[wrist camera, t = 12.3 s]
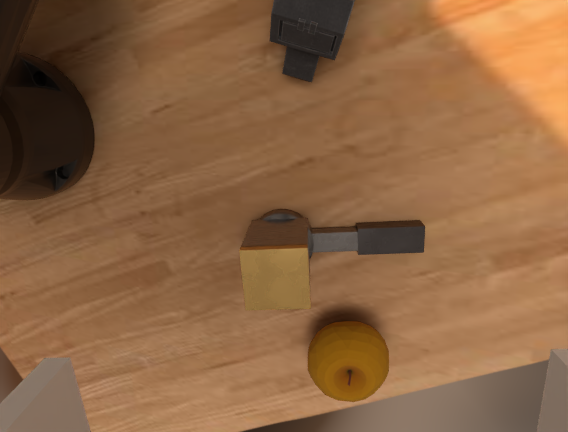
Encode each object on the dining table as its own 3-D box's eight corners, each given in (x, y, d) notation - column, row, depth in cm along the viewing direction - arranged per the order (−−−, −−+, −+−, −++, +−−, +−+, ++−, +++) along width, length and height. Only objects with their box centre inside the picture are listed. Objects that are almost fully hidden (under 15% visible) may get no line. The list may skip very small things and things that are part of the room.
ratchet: (254, 267, 46) (246, 297, 39) (249, 210, 44) (239, 232, 37) (417, 261, 45) (437, 291, 38) (420, 202, 42) (441, 223, 36)
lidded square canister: (256, 270, 44) (245, 310, 36) (251, 220, 42) (239, 250, 34) (310, 269, 43) (310, 308, 36) (307, 217, 42) (307, 247, 34)
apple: (366, 290, 46) (380, 336, 38) (391, 350, 48) (409, 405, 40) (296, 314, 48) (294, 364, 39) (323, 371, 50) (327, 429, 41)
